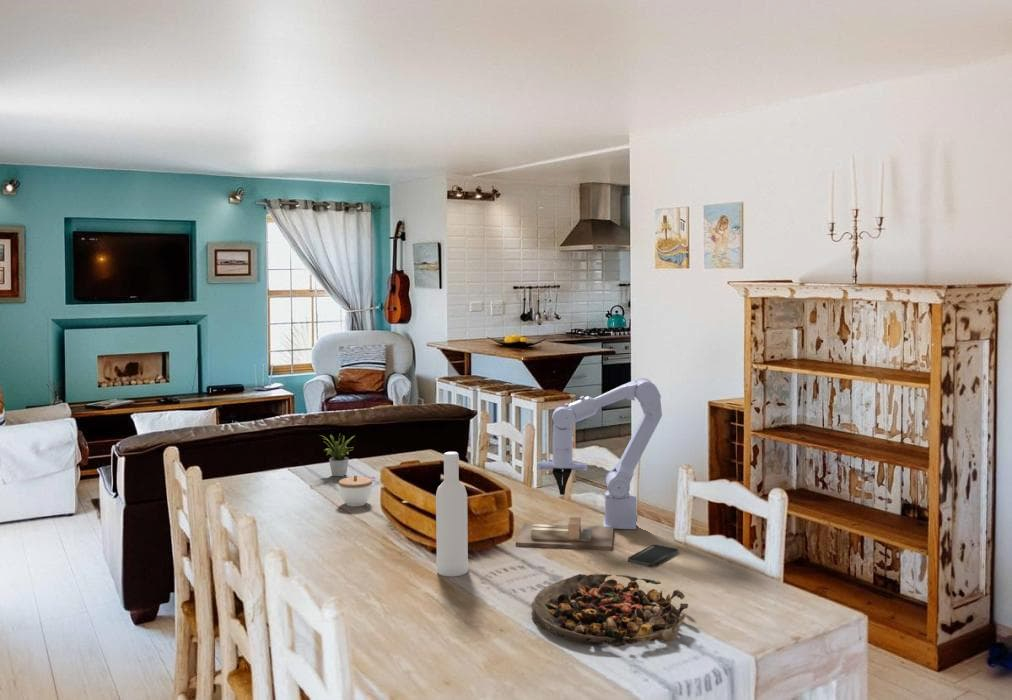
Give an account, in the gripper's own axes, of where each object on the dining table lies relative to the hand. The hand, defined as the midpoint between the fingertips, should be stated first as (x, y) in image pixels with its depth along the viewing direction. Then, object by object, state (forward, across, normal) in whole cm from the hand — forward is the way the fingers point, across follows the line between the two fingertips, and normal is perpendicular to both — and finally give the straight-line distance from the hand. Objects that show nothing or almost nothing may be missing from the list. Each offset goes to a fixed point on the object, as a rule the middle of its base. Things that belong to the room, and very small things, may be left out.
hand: (562, 494), depth 252 cm
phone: (+10, -26, +25) cm, 37 cm away
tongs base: (+9, -2, +12) cm, 15 cm away
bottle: (+10, +24, +43) cm, 50 cm away
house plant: (+10, +88, -52) cm, 103 cm away
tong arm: (+8, +1, +13) cm, 16 cm away
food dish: (+10, -15, +66) cm, 68 cm away
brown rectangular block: (+8, -5, +15) cm, 18 cm away
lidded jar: (+10, +68, -15) cm, 70 cm away
